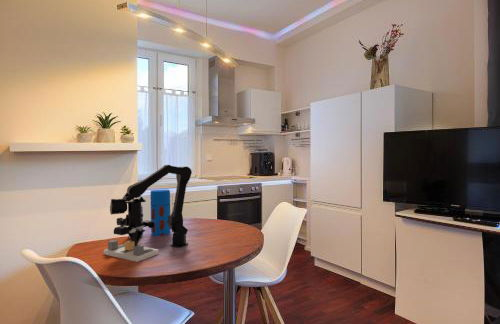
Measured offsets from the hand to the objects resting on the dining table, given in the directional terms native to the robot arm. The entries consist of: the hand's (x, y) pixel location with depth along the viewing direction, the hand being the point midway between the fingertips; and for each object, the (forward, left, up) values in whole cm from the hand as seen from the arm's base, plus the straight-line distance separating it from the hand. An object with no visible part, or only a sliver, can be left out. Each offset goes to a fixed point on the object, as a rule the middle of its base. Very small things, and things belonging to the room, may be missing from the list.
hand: (135, 245), depth 144 cm
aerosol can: (-21, -24, -3) cm, 32 cm away
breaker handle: (+3, 0, -1) cm, 3 cm away
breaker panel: (+2, 0, -3) cm, 4 cm away
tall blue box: (-32, -16, -3) cm, 35 cm away
